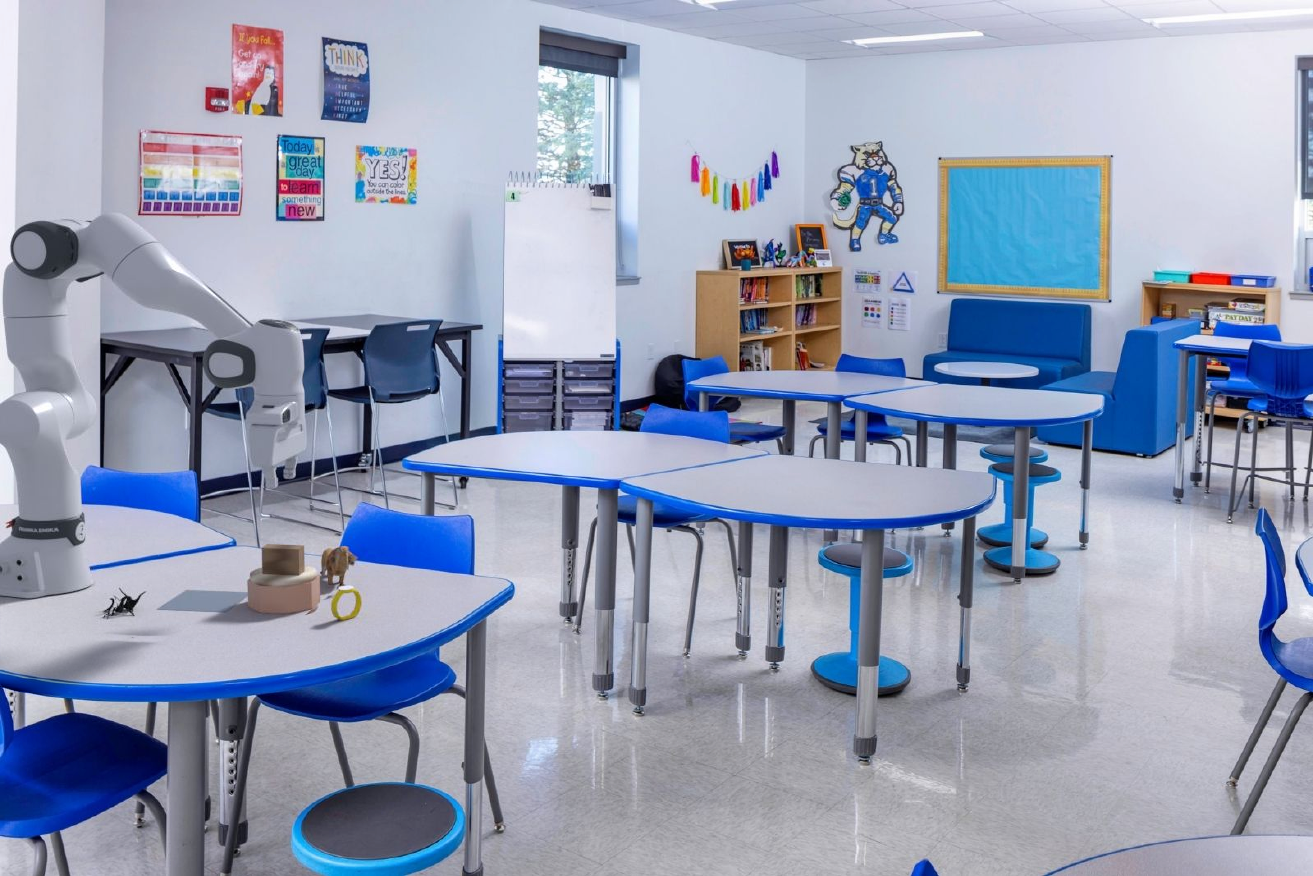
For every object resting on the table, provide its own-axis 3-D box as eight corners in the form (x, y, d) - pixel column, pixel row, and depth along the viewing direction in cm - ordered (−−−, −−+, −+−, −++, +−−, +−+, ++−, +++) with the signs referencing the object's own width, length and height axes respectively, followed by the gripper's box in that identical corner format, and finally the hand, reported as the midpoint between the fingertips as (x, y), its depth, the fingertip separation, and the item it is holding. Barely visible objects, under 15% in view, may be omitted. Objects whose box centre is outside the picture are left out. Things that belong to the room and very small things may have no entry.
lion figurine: (360, 591, 246) (359, 546, 245) (334, 594, 243) (333, 550, 242) (332, 574, 258) (331, 532, 257) (307, 577, 255) (306, 535, 253)
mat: (156, 614, 227) (156, 609, 227) (186, 594, 240) (186, 589, 240) (226, 617, 227) (226, 612, 227) (252, 597, 240) (252, 592, 240)
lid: (239, 585, 226) (239, 553, 225) (263, 568, 238) (263, 537, 237) (304, 587, 226) (304, 555, 225) (325, 570, 238) (324, 540, 237)
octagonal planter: (240, 617, 227) (240, 585, 226) (264, 598, 239) (263, 568, 238) (305, 619, 227) (305, 587, 226) (325, 601, 239) (325, 570, 238)
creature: (123, 633, 220) (154, 611, 227) (117, 606, 218) (149, 585, 225) (88, 627, 223) (120, 606, 230) (82, 600, 221) (114, 580, 228)
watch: (339, 624, 225) (336, 593, 224) (329, 621, 227) (327, 590, 226) (365, 615, 230) (363, 584, 229) (355, 612, 232) (353, 582, 230)
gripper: (282, 401, 238) (283, 472, 240) (242, 415, 218) (243, 493, 220) (314, 402, 237) (315, 473, 240) (277, 417, 217) (278, 494, 219)
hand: (280, 483), depth 229 cm, fingers open, 8 cm apart
